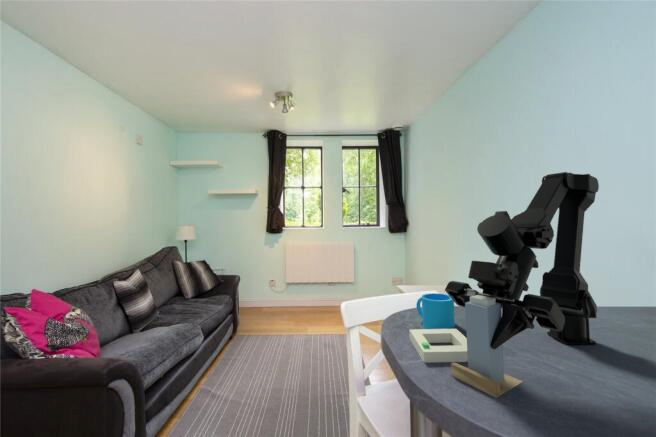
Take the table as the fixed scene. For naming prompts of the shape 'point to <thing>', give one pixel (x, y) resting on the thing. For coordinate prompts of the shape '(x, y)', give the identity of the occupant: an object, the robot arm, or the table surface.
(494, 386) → the tan base plate
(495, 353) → the plug
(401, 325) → the table surface
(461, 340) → the block
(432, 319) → the mug
